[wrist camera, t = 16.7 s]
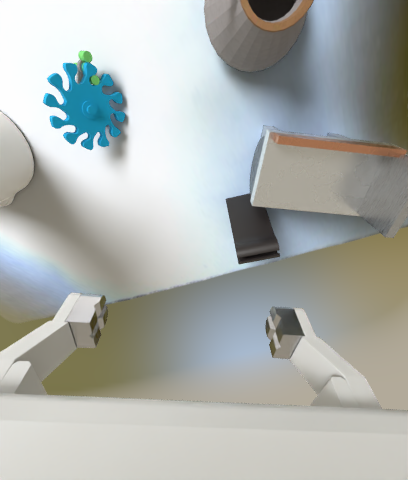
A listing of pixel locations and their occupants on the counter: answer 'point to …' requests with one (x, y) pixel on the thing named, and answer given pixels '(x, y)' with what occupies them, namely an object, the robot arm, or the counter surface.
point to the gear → (85, 102)
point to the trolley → (331, 177)
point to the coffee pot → (254, 30)
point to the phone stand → (251, 230)
